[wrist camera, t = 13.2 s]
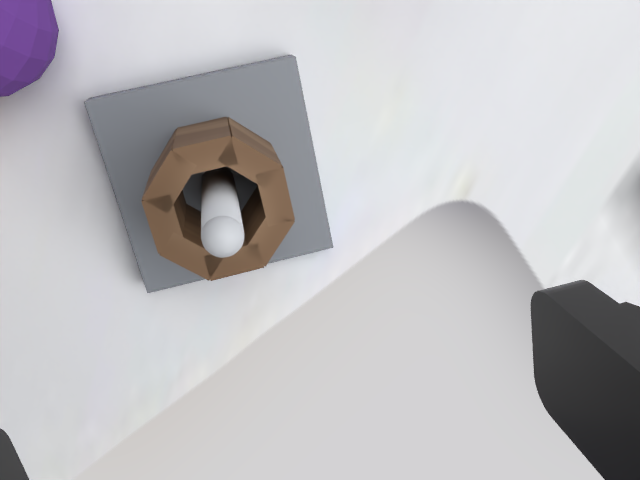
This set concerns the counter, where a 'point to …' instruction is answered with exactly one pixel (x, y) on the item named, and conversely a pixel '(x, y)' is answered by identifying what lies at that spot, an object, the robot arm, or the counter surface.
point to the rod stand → (218, 184)
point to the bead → (185, 221)
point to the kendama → (25, 42)
